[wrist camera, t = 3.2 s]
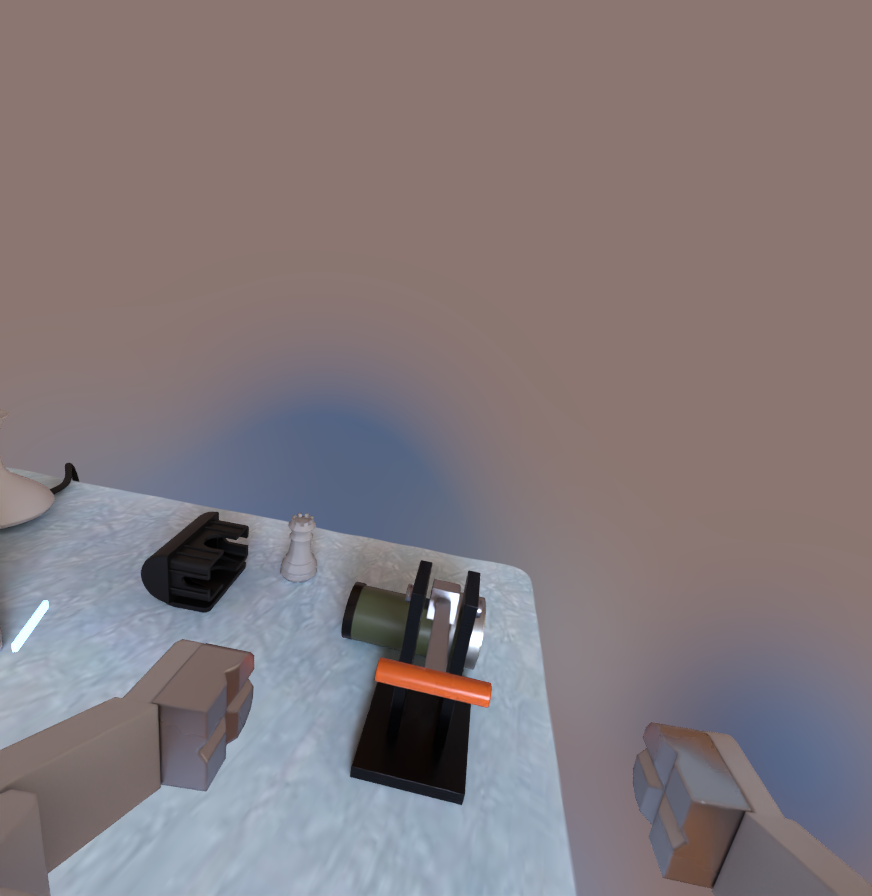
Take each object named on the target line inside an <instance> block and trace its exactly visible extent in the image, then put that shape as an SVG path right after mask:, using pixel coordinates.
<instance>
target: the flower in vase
mask: <svg viewBox="0 0 872 896" xmlns="http://www.w3.org/2000/svg"><path fill="white" fill-rule="evenodd" d="M8 415H9V413H8V412H7V411H4V410H1V409H0V428H1V425H2V423H3V422H4V420H5V419H6V418H7V417H8ZM53 502H54V495H53V493H52V492H51V491H50V489H49V488H47V487H46V486H44V485H42V484H40V483H38V482H36V481H34V480H31V479H28V478H26V477H23V476H20V475H17V474H14V473H12V472H10V471H8V470H7V469H6V468H5V467H4V466H3V463H2V461H1V457H0V529H2V528H7V527H11V526H15V525H18V524H22V523H25V522H27V521H30V520H32V519H35V518H37V517H39V516H40V515H42V514H43V513H45V512H46V511H47V510H48V509H49V508H50V507H51V505H52V504H53Z"/></svg>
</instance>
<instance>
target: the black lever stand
mask: <svg viewBox="0 0 872 896" xmlns="http://www.w3.org/2000/svg"><path fill="white" fill-rule="evenodd" d="M431 569H432V562H427V561H422V560H421V562H420V565H419V569H418V572H417V576H416V579H415V583H414V585H413V584H409V585H408V588H407V593H406V598H405V602H408V603H410V605H409V610H408V616H407V621H406V627H405V632H404V638H403V643H402V649H401V655H400V660H399V662H403V663H408V664H412V665H413V662H414V657H415V651H416V646H417V641H418V636H419V631H420V626H421V620H422V615H423V610H424V605H425V600H426V595H427V589H428V584H429V579H430V574H431ZM479 587H480V573H478V572H473V571H468V575H467V579H466V584H465V588H464V592H463V597H462V601H461V606H460V610H459V615H458V619H457V623H456V628H455V632H454V637H453V641H452V645H451V650H450V654H449V659H448V663H447V668H446V673H450V674H455V675H459V676H462V672H463V668H464V664H465V660H466V656H467V652H468V648H469V643H470V639H471V635H472V631H473V627H474V623H475V619H476V618H480V616H481V612H482V606H483V600H480V599H479ZM470 708H471V704H470V703H465V702H461V701H457V700H453V699H448V698H444V697H440V696H436V695H432V694H427V693H423V692H419V691H415V690H411V689H406V688H402V687H398V686H394V685H390V684H385V683H381V682H377V686H376V689H375V692H374V695H373V699H372V702H371V705H370V708H369V712H368V715H367V718H366V721H365V725H364V728H363V731H362V734H361V738H360V741H359V744H358V747H357V751H356V754H355V757H354V760H353V764H352V767H351V774H350V777H353V778H357V779H361V780H365V781H369V782H373V783H377V784H381V785H385V786H389V787H393V788H397V789H401V790H405V791H409V792H413V793H417V794H421V795H425V796H429V797H432V798H436V799H440V800H444V801H448V802H452V803H456V804H460V805H462V803H463V799H464V796H465V784H466V769H467V753H468V738H469V723H470Z"/></svg>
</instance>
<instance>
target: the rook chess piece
mask: <svg viewBox="0 0 872 896" xmlns="http://www.w3.org/2000/svg"><path fill="white" fill-rule="evenodd" d="M297 515H298V516H297V517H296V515H294V516H292V520H291V521H290V522H289V525H288V526H289V528H290V529H291V530H292V532H291V533H290V538H291V544H290V548H289V551H288V553H287V554H286V557H285V558H284V559H283V561H282V565H281V566H282V567H281V571H280V572H281V574H282V576H283V577H284V578H285V579H287V580H288V581H291V582H304V581H307V580H309V579H311V578H312V577H313V576H314V575H315V574H316V572H317V568H316V566H317V561H316V559H315V557H314V555H313V553H312V549H311V539H312V538H313V534H312V530H313V529H314V528H315V527H316V524H315V522H314V521H313V516H310V518H309V514H307V513H306V514H305V516H302V513H298V514H297Z"/></svg>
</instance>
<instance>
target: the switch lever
mask: <svg viewBox="0 0 872 896" xmlns="http://www.w3.org/2000/svg"><path fill="white" fill-rule="evenodd" d="M459 599H460V585H459V584H455V583H450V582H446V581H441V580H437V579H434V583H433V587H432V591H431V596H430V601H429V606H428V611H427V616H426V618H427V619H431V620H433V623H432V629H431V634H430V639H429V645H428V650H427V655H426V660H425V666H424V667H421V666H416V665H412V664H408V663H403V662H399V661H395V660H391V659H386V658H382V657H381V658H380V659H379V662H378V665H377V669H376V673H375V681H377V682H381V683H385V684H390V685H394V686H398V687H402V688H406V689H411V690H415V691H419V692H423V693H427V694H432V695H436V696H440V697H444V698H448V699H453V700H457V701H461V702H465V703H470V704H474V705H478V706H482V707H486V708H487V707H488V706H489V703H490V698H491V690H492V686H491V683H489V682H485V681H480V680H476V679H472V678H468V677H463V676H459V675H455V674H450V673H446V666H447V653H448V640H449V627H450V624H453V625H454V624H455V619H456V614H457V609H458V604H459Z"/></svg>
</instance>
